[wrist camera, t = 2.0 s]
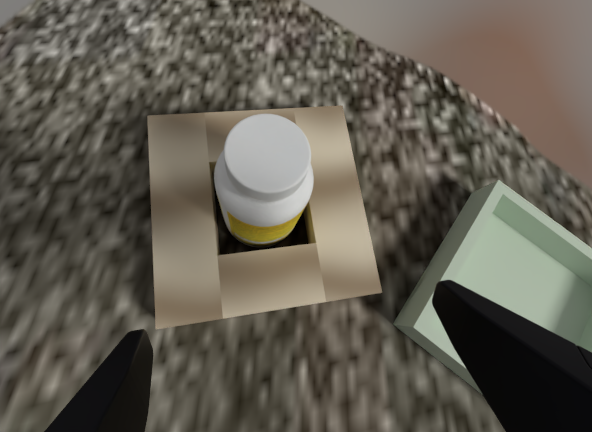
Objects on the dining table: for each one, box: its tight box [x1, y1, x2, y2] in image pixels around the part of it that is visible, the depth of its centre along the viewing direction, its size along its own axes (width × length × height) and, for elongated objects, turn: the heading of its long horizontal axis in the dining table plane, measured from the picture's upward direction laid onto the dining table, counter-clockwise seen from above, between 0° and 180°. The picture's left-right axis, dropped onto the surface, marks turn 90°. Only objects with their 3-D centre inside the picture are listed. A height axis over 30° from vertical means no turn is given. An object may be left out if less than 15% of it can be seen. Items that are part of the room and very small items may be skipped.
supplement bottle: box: [214, 114, 314, 247], centre depth 19 cm, size 5×5×10 cm
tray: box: [393, 180, 592, 395], centre depth 23 cm, size 13×13×3 cm
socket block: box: [147, 106, 382, 329], centre depth 22 cm, size 14×14×2 cm
